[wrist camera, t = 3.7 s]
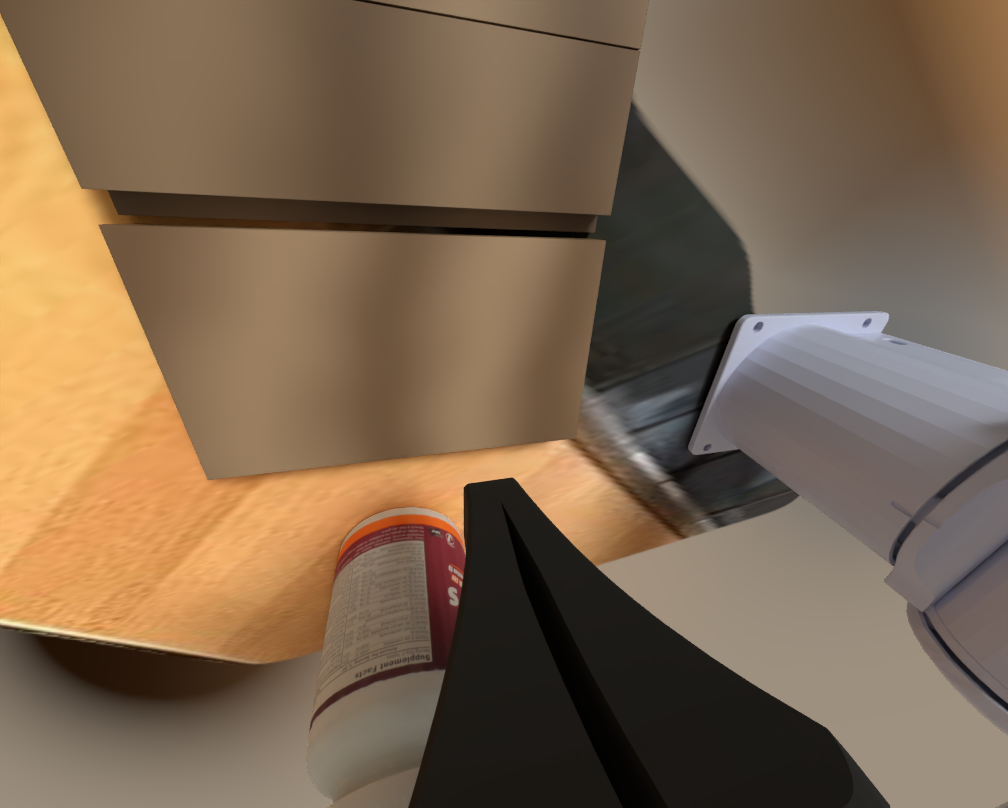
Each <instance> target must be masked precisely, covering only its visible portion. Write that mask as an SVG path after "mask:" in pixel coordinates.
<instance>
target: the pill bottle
mask: <svg viewBox="0 0 1008 808" xmlns="http://www.w3.org/2000/svg"><path fill="white" fill-rule="evenodd" d="M465 559H466V558H465V553H464V547H463V542H462V538H461V535H460V532H459V530H458V528H457V527H456V525H455V524H454V523H453V522H452V521H451V520H450V519H449V518H448V517H447V516H445V515H443V514H441V513H439V512H436V511H433V510H430V509H426V508H419V507H404V508H395V509H390V510H386V511H383V512H380V513H377V514H374V515H372V516H370V517H368V518H367V519H365V520H363V521H362V522H360V523H359V524H358V525H356V526H355V527H354V528H353V529H352V530H351V531H350V533H349V534H348V535H347V536H346V538H345V539H344V541H343V543H342V546H341V548H340V552H339V556H338V561H337V567H336V571H335V578H334V583H333V590H332V596H331V602H330V608H329V614H328V620H327V626H326V632H325V638H324V644H323V650H322V657H321V662H320V668H319V675H318V681H317V687H316V693H315V699H314V706H313V712H312V717H311V725H310V730H309V735H308V746H307V757H306V759H307V760H306V761H307V769H308V774H309V777H310V779H311V781H312V783H313V785H314V786H315V788H316V789H317V790H318V791H319V792H320V793H321V794H323V795H324V796H325V797H327V798H329V799H332V800H333V804H332V805H330V806H329V807H328V808H408V806H409V803H410V800H411V796H412V793H413V790H414V786H415V783H416V779H417V776H418V772H419V769H420V765H421V761H422V758H423V754H424V750H425V747H426V743H427V739H428V736H429V732H430V729H431V725H432V721H433V718H434V714H435V710H436V706H437V702H438V699H439V695H440V691H441V686H442V682H443V678H444V674H445V669H446V665H447V661H448V656H449V652H450V647H451V643H452V638H453V633H454V628H455V623H456V618H457V613H458V607H459V601H460V595H461V589H462V581H463V574H464V567H465Z"/></svg>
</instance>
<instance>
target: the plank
mask: <svg viewBox="0 0 1008 808" xmlns="http://www.w3.org/2000/svg"><path fill="white" fill-rule="evenodd" d="M99 227H100V229H101V232H102V234H103V236H104V239H105V241H106V243H107V246H108V248H109V250H110V253H111V255H112V257H113V260H114V262H115V264H116V267H117V269H118V271H119V274H120V276H121V278H122V281H123V283H124V285H125V288H126V290H127V292H128V295H129V297H130V299H131V302H132V304H133V306H134V309H135V311H136V313H137V316H138V318H139V320H140V323H141V325H142V327H143V330H144V332H145V334H146V337H147V339H148V341H149V344H150V346H151V348H152V351H153V353H154V355H155V358H156V360H157V362H158V365H159V367H160V369H161V372H162V374H163V376H164V379H165V381H166V383H167V386H168V388H169V390H170V393H171V395H172V397H173V400H174V402H175V404H176V407H177V409H178V411H179V414H180V416H181V418H182V421H183V423H184V426H185V428H186V430H187V433H188V435H189V437H190V440H191V442H192V444H193V447H194V449H195V451H196V454H197V456H198V458H199V461H200V463H201V465H202V468H203V470H204V472H205V475H206V477H207V479H208V480H213V479H221V478H230V477H239V476H248V475H256V474H265V473H274V472H283V471H292V470H300V469H309V468H318V467H327V466H336V465H344V464H353V463H362V462H371V461H380V460H388V459H397V458H406V457H415V456H423V455H432V454H441V453H450V452H459V451H467V450H476V449H485V448H494V447H503V446H511V445H520V444H529V443H538V442H546V441H555V440H564V439H573V438H576V432H577V425H578V419H579V412H580V406H581V399H582V393H583V386H584V380H585V373H586V367H587V361H588V354H589V348H590V341H591V335H592V328H593V322H594V315H595V309H596V302H597V296H598V289H599V283H600V276H601V270H602V263H603V257H604V250H605V244H606V241H605V240H597V239H588V238H557V237H526V236H495V235H465V234H434V233H403V232H372V231H341V230H311V229H280V228H249V227H218V226H188V225H157V224H103V225H99Z"/></svg>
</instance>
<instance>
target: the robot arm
mask: <svg viewBox="0 0 1008 808" xmlns="http://www.w3.org/2000/svg"><path fill="white" fill-rule="evenodd" d="M888 319H889V315H888V313H884V312H880V311H866V312H829V313H795V314H794V313H793V314H754V315H745V316H743V317H741V318H740V319H739V320H738V321H737V323H736V324H735V327H734V329H733V332H732V335H731V337H730V340H729V342H728V345H727V347H726V350H725V353H724V355H723V358H722V360H721V363H720V365H719V368H718V371H717V373H716V376H715V378H714V381H713V383H712V386H711V389H710V391H709V394H708V396H707V399H706V401H705V404H704V407H703V409H702V412H701V414H700V417H699V419H698V422H697V425H696V427H695V430H694V432H693V435H692V437H691V440H690V443H689V445H688V450H689V451H690V452H691V453H692V454H693V455H700V454H707V453H715V452H722V451H729V450H736V449H740V450H741V451H743V452H744V453H745V454H746V455H748V456H749V457H750V458H752V459H753V460H754V461H756V462H757V463H758V464H760V465H761V466H762V467H763V468H765V469H766V470H767V471H769V472H770V473H771V474H773V475H774V476H775V477H777V478H778V479H779V480H781V481H782V482H783V483H784V484H786V485H787V486H788V487H790V488H791V489H792V490H794V491H795V492H796V493H798V494H799V495H800V496H802V497H803V498H804V499H805V500H807V501H808V502H809V503H811V504H812V505H813V506H815V507H816V508H817V509H819V510H820V511H821V512H822V513H824V514H825V515H826V516H828V517H829V518H830V519H832V520H833V521H834V522H836V523H837V524H838V525H840V526H841V527H842V528H844V529H845V530H846V531H847V532H849V533H850V534H851V535H853V536H854V537H856V538H857V539H858V540H859V541H861V542H862V543H863V544H864V545H866V546H867V547H868V548H870V549H871V550H872V551H874V552H875V553H876V554H878V555H879V556H880V557H882V558H883V559H884V560H885V561H887V562H888V563H889V564H891V565H892V566H894V568H893V570H892V571H891V572H890V574H889V575H888V576H887V577H886V578H885V579H884V582H885V583H886V584H887V585H889V586H890V587H891V588H892V589H893V590H895V591H896V592H897V593H899V594H900V595H901V596H902V597H904V598H905V599H906V600H907V601H908V602H907V616H908V621H909V623H910V626H911V628H912V630H913V633H914V635H915V636H916V638H917V640H918V641H919V643H920V644H921V646H922V648H923V649H924V651H925V652H926V653H927V655H928V656H929V657H930V659H931V660H932V661H933V662H934V663H935V665H936V666H937V668H938V669H939V671H941V673H942V674H943V675H944V677H945V678H946V679H947V680H948V681H949V682H950V684H951V685H952V686H953V687H954V688H955V689H956V690H957V691H958V692H959V693H960V694H961V695H962V696H963V697H964V698H965V699H966V700H967V701H968V702H969V703H970V704H971V705H972V706H973V707H974V708H976V709H977V710H978V711H979V712H980V713H981V714H982V715H983V716H984V717H986V718H987V719H988V720H989V721H990V722H992V723H993V724H994V725H995V726H996V727H998V728H999V729H1000V730H1001V731H1003V732H1004V733H1005V734H1007V735H1008V371H1006V370H1002V369H999V368H996V367H993V366H989V365H986V364H982V363H979V362H975V361H973V360H969V359H966V358H962V357H959V356H956V355H953V354H949V353H946V352H943V351H939V350H936V349H933V348H929V347H926V346H923V345H919V344H916V343H913V342H909V341H906V340H903V339H899V338H896V337H893V336H889V335H886V334H883V333H881V332H882V330H883V328H884V327H885V325H886V323H887V322H888ZM754 326H755V327H754ZM464 539H465V547H466V559H465V567H464V574H463V581H462V589H461V595H460V601H459V607H458V613H457V618H456V623H455V628H454V633H453V638H452V643H451V647H450V652H449V656H448V661H447V665H446V669H445V674H444V678H443V682H442V686H441V691H440V695H439V699H438V702H437V706H436V710H435V714H434V718H433V721H432V725H431V729H430V732H429V736H428V739H427V743H426V747H425V750H424V754H423V758H422V761H421V765H420V769H419V772H418V776H417V779H416V783H415V786H414V790H413V793H412V796H411V800H410V803H409V806H408V808H890V805H889V804H888V802H887V801H886V800H885V799H884V797H883V796H882V795H881V794H880V792H879V791H878V790H877V789H876V787H875V786H874V785H873V784H872V782H871V781H870V780H869V778H868V777H867V776H866V775H865V773H864V772H863V771H862V770H861V768H860V767H859V766H858V765H857V763H856V762H855V761H854V760H853V758H852V757H851V756H850V755H849V753H848V752H847V751H846V750H845V749H844V748H843V746H842V745H841V744H840V743H839V742H838V741H837V739H836V738H835V737H834V736H833V735H832V734H831V732H830V731H829V730H828V729H827V728H825V727H823V726H822V725H820V724H819V723H817V722H815V721H813V720H812V719H810V718H809V717H807V716H805V715H804V714H802V713H800V712H799V711H797V710H795V709H793V708H792V707H790V706H788V705H787V704H785V703H783V702H782V701H780V700H778V699H777V698H775V697H773V696H771V695H770V694H768V693H767V692H765V691H763V690H762V689H760V688H758V687H757V686H755V685H753V684H752V683H750V682H749V681H747V680H746V679H744V678H742V677H741V676H739V675H738V674H736V673H735V672H733V671H732V670H730V669H729V668H727V667H726V666H724V665H723V664H721V663H720V662H718V661H717V660H715V659H714V658H712V657H710V656H709V655H708V654H706V653H705V652H704V651H702V650H701V649H699V648H698V647H697V646H695V645H694V644H692V643H691V642H690V641H688V640H687V639H685V638H684V637H683V636H681V635H680V634H678V633H677V632H676V631H674V630H673V629H671V628H670V627H669V626H667V625H665V624H664V623H663V622H662V621H660V620H659V619H658V618H656V617H655V616H654V615H652V614H651V613H650V612H649V611H648V610H646V609H645V608H644V607H642V606H641V605H640V604H639V603H637V602H636V601H635V600H633V599H632V598H631V597H630V596H629V595H628V594H627V593H625V592H624V591H623V590H622V589H620V588H619V587H618V586H617V585H616V584H615V583H613V582H612V581H611V580H610V579H609V578H608V577H607V576H606V575H604V574H603V573H602V572H601V571H600V570H599V569H598V568H597V567H596V566H595V565H594V564H593V563H592V562H590V561H589V560H588V559H587V558H586V557H585V556H584V555H583V554H582V553H581V552H580V551H579V550H578V549H577V548H576V547H575V546H574V545H573V544H572V543H571V542H570V541H569V540H568V539H567V538H566V537H565V536H564V535H563V534H562V533H561V531H560V530H559V529H558V528H557V527H556V526H555V525H554V524H553V523H552V522H551V521H550V520H549V519H548V518H547V516H546V515H545V514H544V513H543V512H542V511H541V510H540V508H539V507H538V506H537V505H536V504H535V503H534V502H533V500H532V499H531V498H530V497H529V496H528V494H527V493H526V492H525V491H524V490H523V488H522V487H521V486H520V485H519V483H518V482H517V481H516V480H515V479H514V478H506V479H499V480H491V481H484V482H477V483H470V484H467V485H466V486H465V487H464ZM996 808H1008V802H1006V803H1004V804H1001V805H1000V806H998V807H996Z"/></svg>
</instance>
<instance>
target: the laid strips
mask: <svg viewBox="0 0 1008 808" xmlns="http://www.w3.org/2000/svg"><path fill="white" fill-rule="evenodd" d="M648 4H649V0H0V14H1V16H2V18H3V20H4V22H5V24H6V27H7V29H8V31H9V33H10V35H11V37H12V40H13V42H14V44H15V46H16V48H17V50H18V52H19V55H20V57H21V59H22V61H23V63H24V65H25V68H26V70H27V72H28V74H29V76H30V78H31V80H32V83H33V85H34V87H35V89H36V91H37V93H38V96H39V98H40V100H41V102H42V104H43V106H44V108H45V111H46V113H47V115H48V117H49V119H50V121H51V123H52V126H53V128H54V130H55V132H56V134H57V136H58V139H59V141H60V143H61V145H62V147H63V149H64V151H65V154H66V156H67V158H68V160H69V162H70V164H71V167H72V169H73V171H74V173H75V175H76V177H77V179H78V182H79V184H80V186H81V188H82V189H99V190H108V192H109V194H110V196H111V199H112V201H113V203H114V206H115V208H116V210H117V212H118V215H138V216H165V217H192V218H219V219H246V220H272V221H299V222H326V223H353V224H380V225H407V226H434V227H461V228H488V229H515V230H542V231H569V232H595V228H596V222H597V216H598V215H611V210H612V205H613V199H614V193H615V188H616V182H617V177H618V171H619V166H620V160H621V155H622V149H623V143H624V138H625V132H626V127H627V121H628V116H629V110H630V104H631V99H632V93H633V88H634V82H635V76H636V71H637V66H638V60H639V54H640V51H638V50H639V49H640V48H641V43H642V37H643V32H644V27H645V21H646V15H647V9H648Z"/></svg>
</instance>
